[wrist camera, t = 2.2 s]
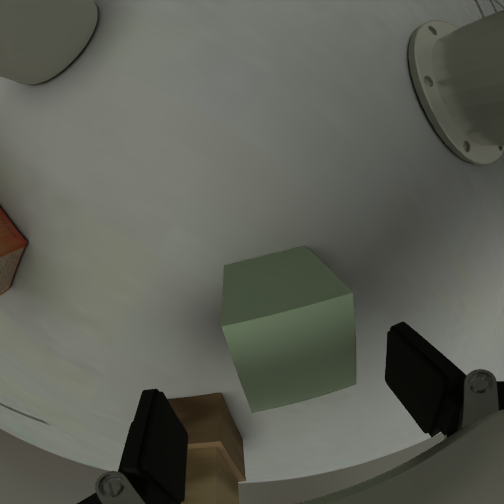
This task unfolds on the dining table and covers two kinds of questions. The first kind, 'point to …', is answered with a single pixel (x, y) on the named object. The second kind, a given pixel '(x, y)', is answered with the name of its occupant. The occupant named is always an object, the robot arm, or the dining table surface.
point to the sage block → (288, 328)
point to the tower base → (211, 428)
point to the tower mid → (209, 478)
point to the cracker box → (9, 251)
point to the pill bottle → (42, 36)
